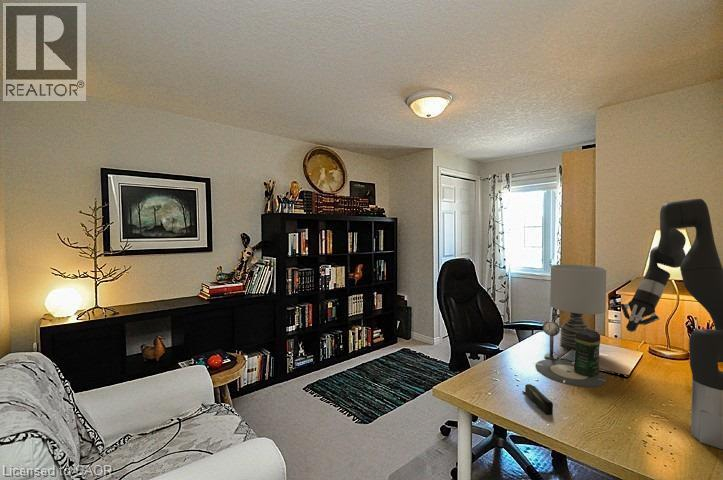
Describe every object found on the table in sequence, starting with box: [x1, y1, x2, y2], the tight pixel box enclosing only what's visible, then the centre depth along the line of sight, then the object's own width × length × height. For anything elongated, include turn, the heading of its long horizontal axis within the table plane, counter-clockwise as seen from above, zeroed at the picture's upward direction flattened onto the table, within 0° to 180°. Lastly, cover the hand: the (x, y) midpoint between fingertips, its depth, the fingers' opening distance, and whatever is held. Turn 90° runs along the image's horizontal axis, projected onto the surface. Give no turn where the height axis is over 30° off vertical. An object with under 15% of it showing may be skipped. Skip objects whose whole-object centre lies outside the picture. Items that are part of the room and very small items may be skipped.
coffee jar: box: [574, 329, 601, 377], centre depth 138 cm, size 10×8×19 cm
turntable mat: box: [534, 359, 607, 388], centre depth 140 cm, size 26×26×1 cm
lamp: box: [549, 264, 607, 352], centre depth 167 cm, size 24×24×42 cm
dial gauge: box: [542, 320, 561, 360], centre depth 154 cm, size 5×7×18 cm
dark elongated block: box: [522, 383, 554, 416], centre depth 116 cm, size 5×3×15 cm
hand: (629, 330), depth 128 cm, fingers closed
